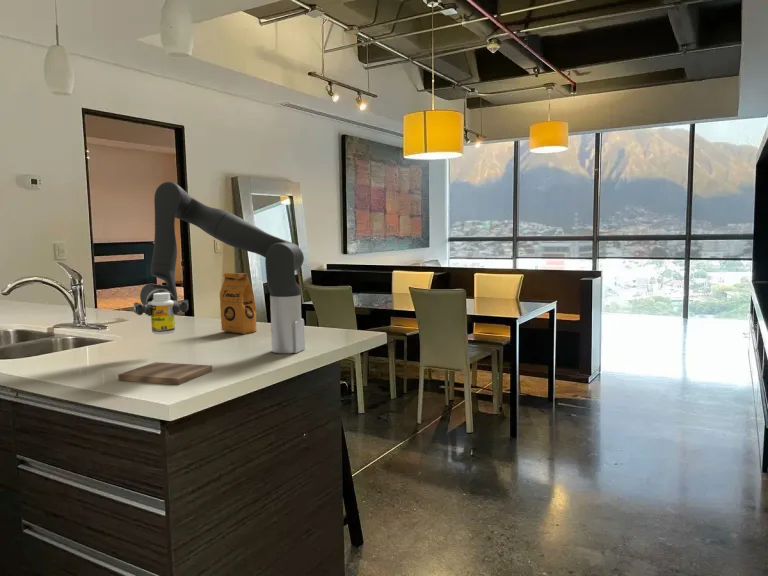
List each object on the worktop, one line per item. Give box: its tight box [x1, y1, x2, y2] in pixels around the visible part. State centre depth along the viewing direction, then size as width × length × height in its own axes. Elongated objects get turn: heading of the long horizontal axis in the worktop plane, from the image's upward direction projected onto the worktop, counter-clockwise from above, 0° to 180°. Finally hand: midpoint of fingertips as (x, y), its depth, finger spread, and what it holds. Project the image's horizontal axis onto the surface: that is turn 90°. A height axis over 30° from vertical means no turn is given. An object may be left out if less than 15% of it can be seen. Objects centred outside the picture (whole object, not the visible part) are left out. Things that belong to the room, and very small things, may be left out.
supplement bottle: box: [150, 293, 176, 335], centre depth 149 cm, size 6×6×10 cm
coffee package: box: [219, 272, 257, 335], centre depth 213 cm, size 10×12×22 cm
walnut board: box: [117, 361, 213, 386], centre depth 150 cm, size 18×14×2 cm
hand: (162, 310), depth 146 cm, fingers closed on supplement bottle, 5 cm apart
